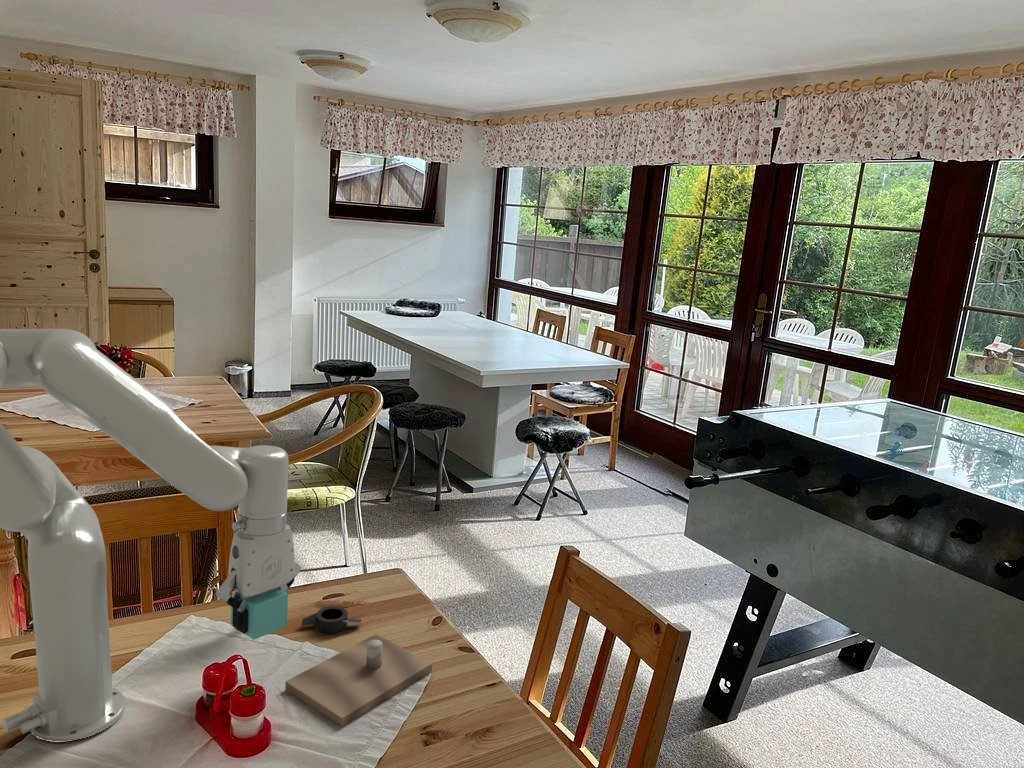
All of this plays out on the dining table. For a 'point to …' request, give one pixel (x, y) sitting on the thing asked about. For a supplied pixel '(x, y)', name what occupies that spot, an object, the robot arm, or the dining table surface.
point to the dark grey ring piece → (330, 620)
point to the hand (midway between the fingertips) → (259, 621)
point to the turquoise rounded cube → (266, 612)
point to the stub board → (358, 679)
